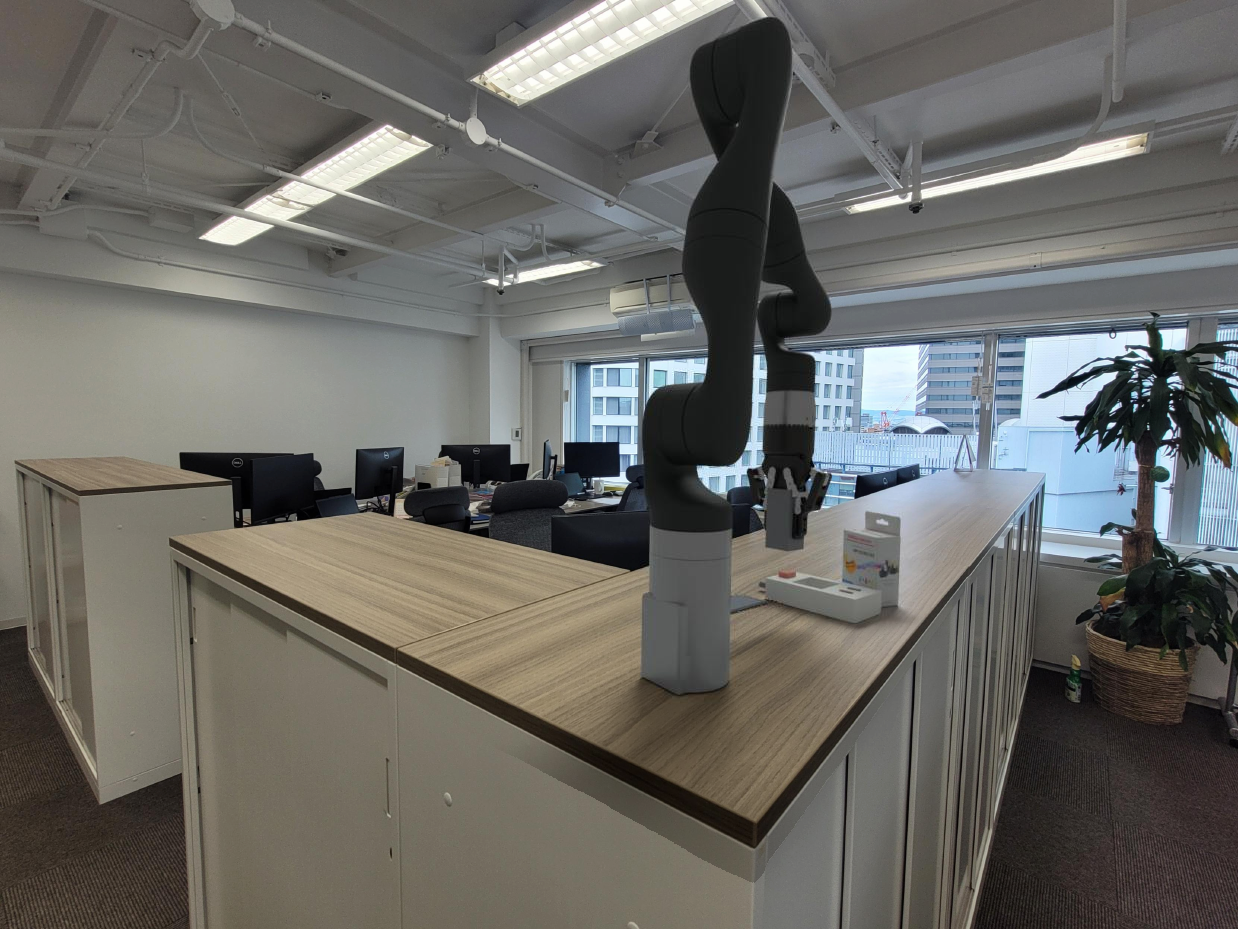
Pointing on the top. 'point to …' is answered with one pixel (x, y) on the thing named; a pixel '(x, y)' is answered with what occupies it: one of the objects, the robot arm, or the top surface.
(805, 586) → the power strip
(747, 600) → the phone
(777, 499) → the charger
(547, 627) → the top surface
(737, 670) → the top surface
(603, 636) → the top surface
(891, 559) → the ink box
